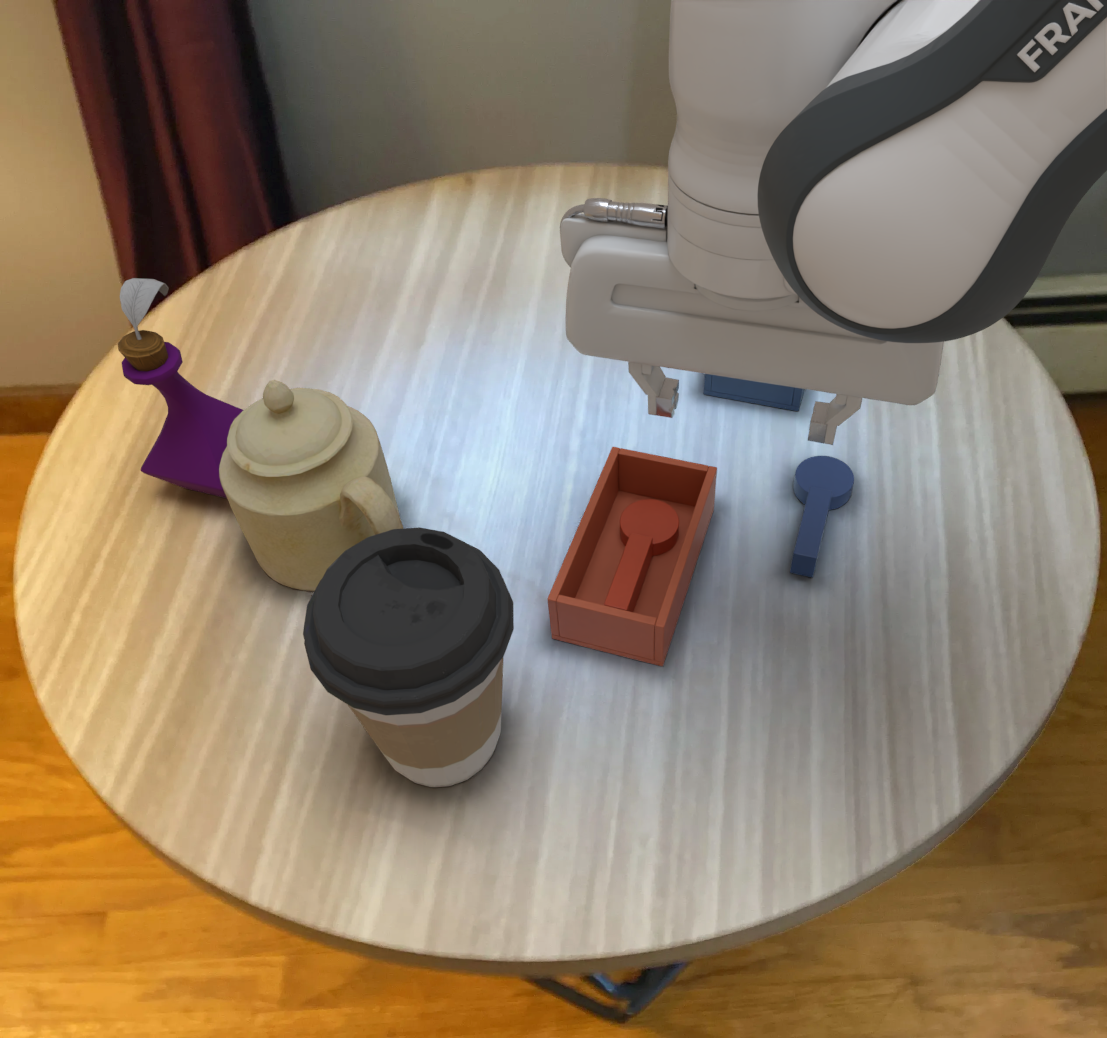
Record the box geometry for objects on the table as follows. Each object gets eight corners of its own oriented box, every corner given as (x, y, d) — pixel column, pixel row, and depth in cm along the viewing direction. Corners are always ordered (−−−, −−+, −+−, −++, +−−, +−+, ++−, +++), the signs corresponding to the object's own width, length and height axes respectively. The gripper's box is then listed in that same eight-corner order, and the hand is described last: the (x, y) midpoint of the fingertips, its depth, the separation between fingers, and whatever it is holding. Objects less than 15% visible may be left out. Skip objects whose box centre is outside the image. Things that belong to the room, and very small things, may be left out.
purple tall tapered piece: (238, 519, 78) (152, 332, 64) (154, 499, 80) (54, 314, 66) (285, 451, 83) (214, 262, 69) (205, 433, 85) (121, 247, 71)
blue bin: (828, 303, 90) (836, 260, 87) (798, 411, 82) (805, 368, 78) (741, 290, 92) (745, 247, 89) (703, 394, 84) (705, 351, 80)
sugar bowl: (471, 504, 78) (442, 349, 66) (413, 620, 71) (369, 471, 60) (296, 467, 81) (240, 314, 70) (225, 574, 75) (150, 425, 63)
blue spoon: (831, 582, 71) (836, 562, 69) (770, 568, 72) (773, 549, 70) (855, 474, 77) (860, 454, 75) (798, 463, 78) (802, 443, 76)
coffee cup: (562, 693, 66) (546, 546, 55) (481, 850, 60) (443, 720, 49) (410, 637, 70) (365, 488, 59) (317, 779, 63) (247, 643, 52)
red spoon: (646, 634, 68) (646, 614, 67) (585, 619, 69) (584, 600, 68) (685, 518, 75) (686, 497, 73) (629, 506, 76) (628, 486, 74)
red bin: (714, 509, 76) (717, 466, 72) (662, 667, 67) (664, 627, 64) (613, 488, 78) (612, 445, 74) (551, 638, 69) (546, 598, 66)
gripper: (537, 228, 51) (557, 429, 62) (968, 281, 46) (912, 491, 56) (575, 163, 55) (588, 362, 66) (977, 204, 50) (923, 414, 60)
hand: (741, 422), depth 61 cm, fingers open, 8 cm apart
